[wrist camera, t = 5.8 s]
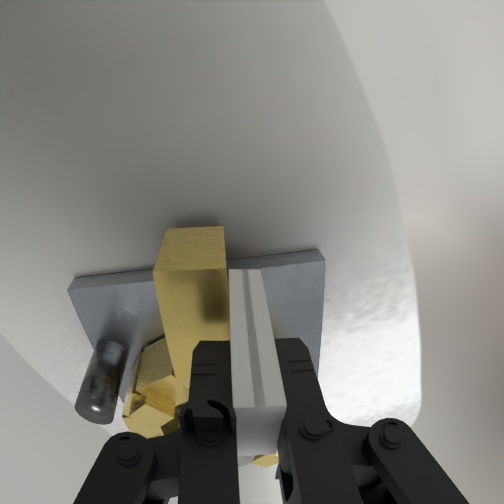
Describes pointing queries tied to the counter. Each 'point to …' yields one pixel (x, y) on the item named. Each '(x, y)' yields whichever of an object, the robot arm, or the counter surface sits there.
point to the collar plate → (151, 327)
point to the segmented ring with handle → (181, 329)
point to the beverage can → (259, 485)
